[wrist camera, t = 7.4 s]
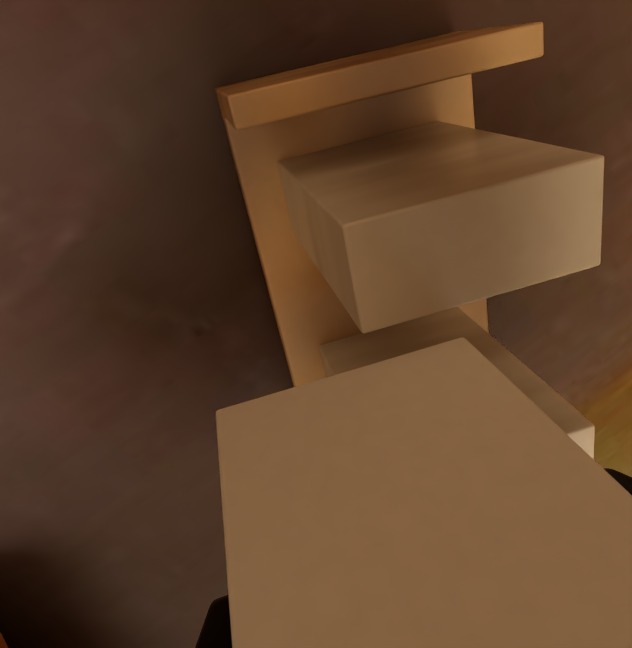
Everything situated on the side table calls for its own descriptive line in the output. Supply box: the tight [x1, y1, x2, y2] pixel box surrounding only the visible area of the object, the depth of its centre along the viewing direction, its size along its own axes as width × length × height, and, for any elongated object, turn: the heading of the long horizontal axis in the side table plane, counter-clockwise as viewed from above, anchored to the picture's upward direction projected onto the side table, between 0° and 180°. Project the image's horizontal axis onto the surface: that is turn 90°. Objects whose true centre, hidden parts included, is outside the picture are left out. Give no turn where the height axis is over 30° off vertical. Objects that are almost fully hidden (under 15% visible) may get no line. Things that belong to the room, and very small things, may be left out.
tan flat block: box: [216, 337, 632, 648], centre depth 9 cm, size 6×2×8 cm, turn 102°
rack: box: [215, 22, 604, 459], centre depth 17 cm, size 8×14×9 cm, turn 12°
